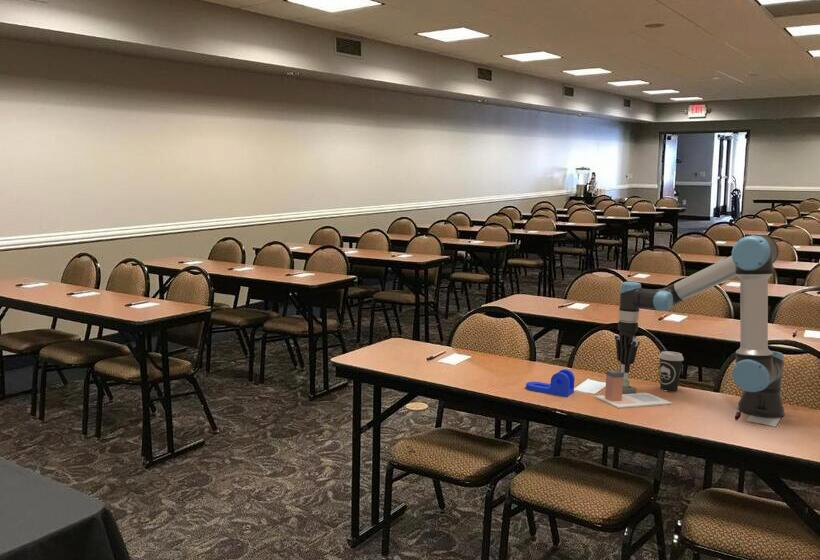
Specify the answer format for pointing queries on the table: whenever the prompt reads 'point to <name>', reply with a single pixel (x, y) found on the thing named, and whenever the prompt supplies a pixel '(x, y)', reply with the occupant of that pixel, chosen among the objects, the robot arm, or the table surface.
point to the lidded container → (614, 385)
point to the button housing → (629, 390)
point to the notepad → (635, 400)
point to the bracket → (555, 384)
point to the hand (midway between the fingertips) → (624, 380)
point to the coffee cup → (670, 370)
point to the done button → (626, 384)
